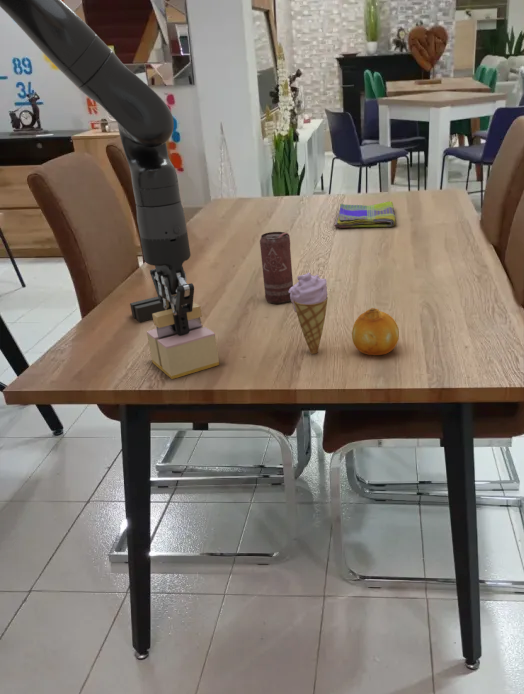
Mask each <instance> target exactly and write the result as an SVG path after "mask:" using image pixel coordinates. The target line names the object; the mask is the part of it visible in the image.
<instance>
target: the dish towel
mask: <svg viewBox="0 0 524 694" xmlns="http://www.w3.org/2000/svg"><path fill="white" fill-rule="evenodd" d="M395 225H396V215H395V207H394V203H393V201H385V202H379V203H375V204H370V205H364V204H345V203H339V212H338V215H337V218H336V221H335V223H334V227H338V228H339V229H347V228H348V229H349V228H351V229H352V228H392V227H394V226H395Z"/></svg>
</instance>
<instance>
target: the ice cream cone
mask: <svg viewBox="0 0 524 694" xmlns="http://www.w3.org/2000/svg"><path fill="white" fill-rule="evenodd" d="M296 278H297V280H298V281H297V282H296V283H295V284H293V286H292V287H291V288H290V289H289V291H288V292H289V293H291V294H290V299H291V301H290V302H291V303H292V306H293V311H294V312H295V313H296V317H297V319H298V322H299V326H300V329H301V332H302V334H303V337H304V340H305V343H306V346H307V348H308V351H309V353H310V354H311V355H316V354H318V353H319V349H320V344H321V339H322V335H323V330H324V325H325V320H326V314H327V307H328V287H327V286H328V285H327V283H328V281H327V279H326V278H321V277H319V274H316V275H313V274H311V272H309V271H308V272H306V273H305V274H300V275H297V277H296Z"/></svg>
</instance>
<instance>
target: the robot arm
mask: <svg viewBox="0 0 524 694" xmlns="http://www.w3.org/2000/svg"><path fill="white" fill-rule="evenodd" d="M0 8H1V9H2V10H3V11H4V12H5V13H6V14H7V15H8V16H9V18H11V19H12V20H13V22H14V23H15V24H16V25H17V26H18V27H19V28H20V30H22V32H24V34H25V35H26V36H27V37H28V38H29V40H31V41H32V43H34V44H35V46H36V47H37V48H38V49H39V50H40V52H42V53H43V55H45V56H46V58H47V59H48V60H50V62H51V63H52V64H53V65H54V66H55V67H56V68H57V69H58V70H59V71H60V72H61V73H62V74H63V75H64V76H65V77H66V78H68V80H69V81H70V82H71V83H72V84H73V85H75V86H76V88H78V89H79V90H80V91H81V92H82V93H83V94H84V95H85V96H87V97H88V98H89V99H91V100H92V101H94V102H96V103H97V104H98V105H100V106H101V107H102V108H103V109H104V110H105V111H106V113H108V114H109V116H110V117H112V118H113V120H115V121H116V123H117V128H118V129H117V130H118V133H119V137H120V140H121V144H122V148H123V151H124V155H125V157H126V161H127V164H128V167H129V171H130V177H131V187H132V191H133V196H134V203H135V209H136V222H137V229H138V233H139V238H140V244H141V249H142V250H141V251H142V255H143V261H144V262H145V263H146V264H147V265H150V266H154V268H153V269H150V270H149V275H150V277H151V280H152V283H153V286H154V289H155V292H156V294H157V297H158V298H159V301H160V303H163V304H164V308H165V310H169V309H172V313H173V318H174V324H175V330H176V334H178V335H179V336H181V335H185V334H188V333H189V325H188V318H187V312H192V308H193V303H194V297H195V296H194V295H195V286H194V284H193V283H192V282H191V283H187V281H188V279H187V274H186V272H185V270H184V266H183V264H184V263H185V262H186V261H188V260H189V259H190V258H191V248H190V241H189V234H188V227H187V221H186V220H187V219H186V215H185V210H184V208H183V203H182V200H181V199H182V198H181V191H180V184H179V179H178V174H177V169H176V167H175V166H174V164H173V163H172V161H171V159H170V157H169V151H168V146H167V142H168V141H169V140H170V138H171V137H172V135H173V133H174V126H175V125H174V124H175V121H174V117H173V113H172V111H171V109H170V107H169V105H168V104H167V103H166V102H165V101H164V99H162V97H160V96H159V95H158V93H156V92H155V91H154V89H152V88H151V87H150V86H149V85H148V84H147V83H146V82H144V81H143V80H142V79H141V78H140V77H139V76H138V75H137V74H136V73H134V72H133V71H132V70H130V69H129V68H128V67H127V66H126V65H125V64H124V63H123V62H122V61H121V59H120V58H119V57H118V56H117V54H116V53H115V52H114V51H113V50H112V48H110V47H109V46H108V45H107V44H106V43H105V41H104V40H103V39H102V38H100V36H99V35H98V34H97V33H96V32H95V31H94V30H93V29H92V28H91V27H90V26H89V25H88V24H87V23H86V22H85V20H83V19H82V18H81V17H80V15H78V14H77V13H76V12H75V11H74V10H73V9H72V8H70V7H69V6H68V4H66V3H65V2H64V1H63V0H0Z"/></svg>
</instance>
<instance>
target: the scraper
mask: <svg viewBox="0 0 524 694" xmlns="http://www.w3.org/2000/svg"><path fill="white" fill-rule="evenodd" d="M201 306H202V305H200V304H198V303H196V302H193V308H192V312H187V318H188V325H189V331H192V330H196V329H199V328H202V326H203V325H202V326H201V324H202V321H201V318H202V317H203V314H202V307H201ZM152 316H153V319H152V320H153V325H154V326H155V329H157V334H158V339H163V338H167V337H170V336H174V335H177V334H176V330H175V324H174V318H173V313H172V309H169V310H165V311H161V312H157V313H153V314H152Z"/></svg>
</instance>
